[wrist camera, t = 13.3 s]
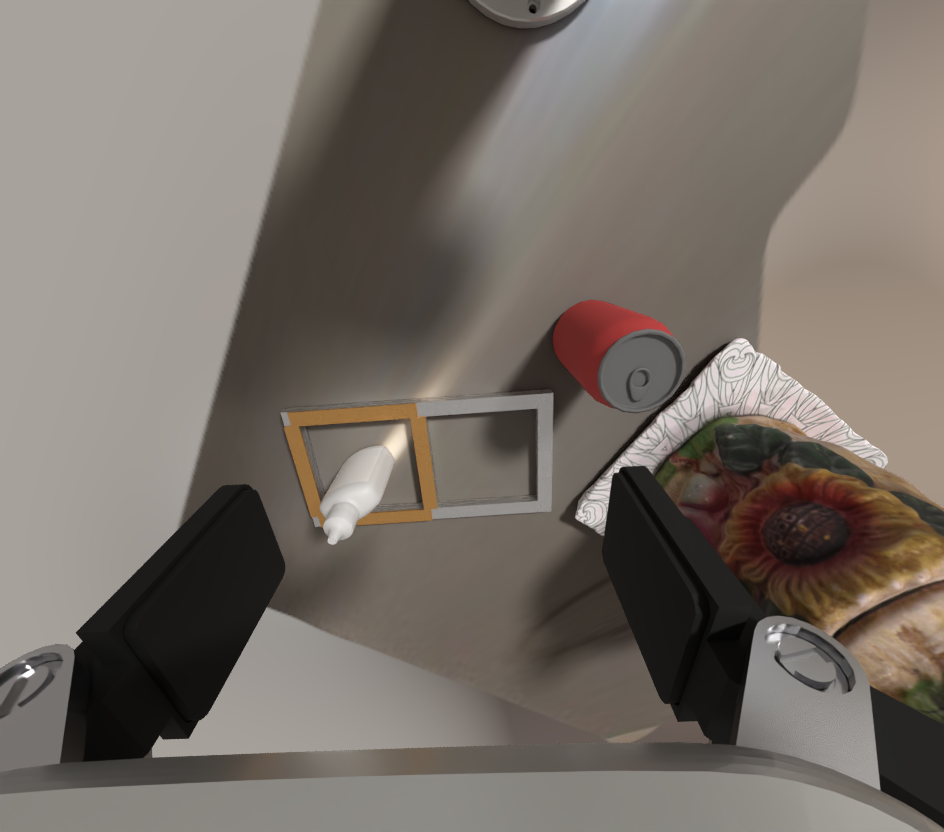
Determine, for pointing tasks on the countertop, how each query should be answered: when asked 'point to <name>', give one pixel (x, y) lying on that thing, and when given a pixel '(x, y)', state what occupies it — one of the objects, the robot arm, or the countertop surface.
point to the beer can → (619, 355)
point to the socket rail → (425, 452)
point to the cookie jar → (802, 517)
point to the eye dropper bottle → (355, 491)
